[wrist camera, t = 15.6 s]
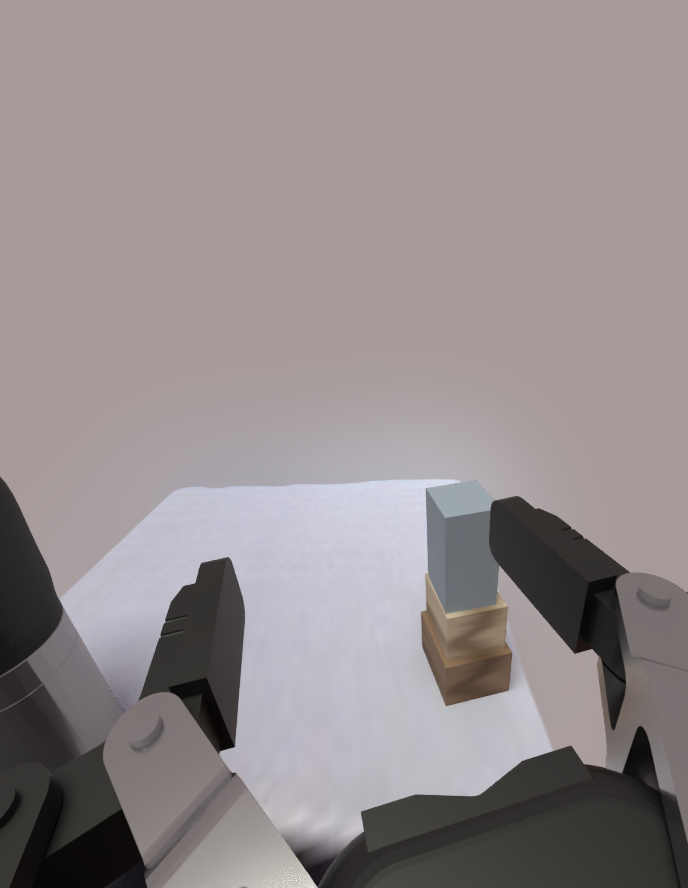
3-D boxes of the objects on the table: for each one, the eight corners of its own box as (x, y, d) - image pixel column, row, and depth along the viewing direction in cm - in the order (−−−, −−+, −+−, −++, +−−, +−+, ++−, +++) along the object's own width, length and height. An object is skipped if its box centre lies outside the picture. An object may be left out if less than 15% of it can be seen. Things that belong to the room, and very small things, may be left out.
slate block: (445, 614, 35) (445, 517, 30) (428, 576, 39) (425, 488, 35) (496, 604, 35) (502, 508, 31) (473, 568, 39) (476, 480, 35)
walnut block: (445, 706, 38) (445, 668, 36) (422, 647, 45) (421, 611, 42) (508, 691, 39) (512, 652, 37) (476, 635, 45) (477, 599, 43)
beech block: (447, 662, 36) (447, 619, 34) (426, 614, 42) (425, 573, 40) (504, 649, 37) (507, 606, 35) (476, 603, 42) (477, 563, 40)
